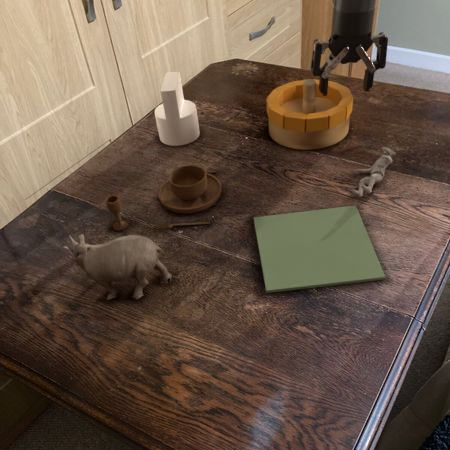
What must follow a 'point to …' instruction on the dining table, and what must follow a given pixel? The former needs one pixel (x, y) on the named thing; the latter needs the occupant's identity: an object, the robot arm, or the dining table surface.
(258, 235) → the mat
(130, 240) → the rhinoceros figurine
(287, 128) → the ring
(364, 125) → the dining table surface
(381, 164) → the soldier figure
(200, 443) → the dining table surface
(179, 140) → the base with upright slab
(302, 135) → the ring stand
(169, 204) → the place setting
